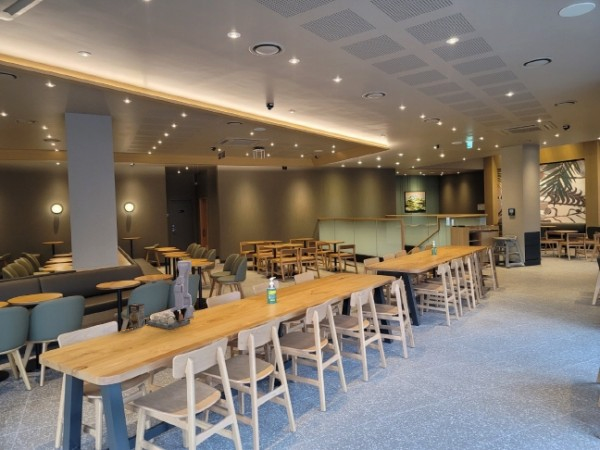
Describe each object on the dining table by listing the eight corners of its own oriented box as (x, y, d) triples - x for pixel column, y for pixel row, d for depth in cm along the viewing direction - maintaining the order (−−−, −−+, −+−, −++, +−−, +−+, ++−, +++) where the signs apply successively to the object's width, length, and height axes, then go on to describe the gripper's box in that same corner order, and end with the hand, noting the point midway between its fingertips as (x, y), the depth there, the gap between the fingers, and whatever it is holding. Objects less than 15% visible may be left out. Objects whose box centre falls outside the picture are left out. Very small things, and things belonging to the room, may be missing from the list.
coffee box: (128, 327, 298) (127, 304, 298) (134, 324, 305) (134, 302, 304) (139, 327, 296) (138, 305, 295) (145, 325, 302) (144, 303, 301)
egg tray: (167, 318, 319) (167, 309, 319) (190, 323, 305) (189, 314, 304) (147, 324, 305) (146, 315, 304) (169, 329, 290) (169, 319, 290)
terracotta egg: (180, 320, 306) (180, 312, 306) (184, 321, 304) (184, 313, 304) (175, 321, 303) (175, 313, 302) (179, 322, 300) (179, 314, 300)
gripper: (174, 303, 294) (175, 322, 295) (190, 299, 306) (191, 317, 307) (168, 302, 298) (169, 321, 299) (184, 298, 310) (185, 316, 311)
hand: (179, 319), depth 303 cm, fingers closed on terracotta egg, 4 cm apart
